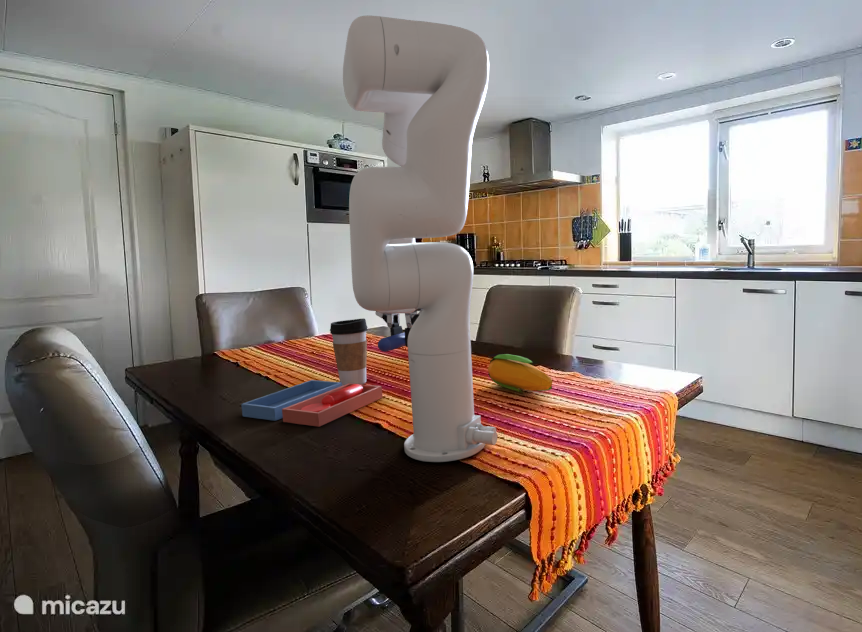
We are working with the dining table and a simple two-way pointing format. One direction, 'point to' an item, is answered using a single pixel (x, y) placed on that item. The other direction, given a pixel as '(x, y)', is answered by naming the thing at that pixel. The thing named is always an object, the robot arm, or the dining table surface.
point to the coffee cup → (350, 350)
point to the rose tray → (329, 414)
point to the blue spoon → (392, 342)
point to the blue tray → (285, 399)
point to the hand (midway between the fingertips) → (404, 344)
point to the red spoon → (335, 398)
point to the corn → (518, 374)
